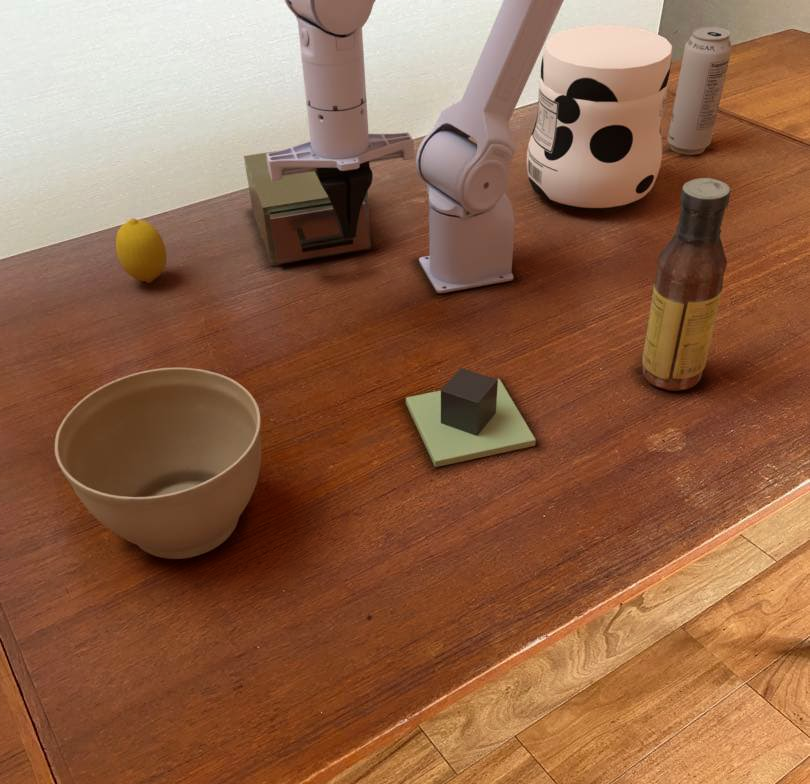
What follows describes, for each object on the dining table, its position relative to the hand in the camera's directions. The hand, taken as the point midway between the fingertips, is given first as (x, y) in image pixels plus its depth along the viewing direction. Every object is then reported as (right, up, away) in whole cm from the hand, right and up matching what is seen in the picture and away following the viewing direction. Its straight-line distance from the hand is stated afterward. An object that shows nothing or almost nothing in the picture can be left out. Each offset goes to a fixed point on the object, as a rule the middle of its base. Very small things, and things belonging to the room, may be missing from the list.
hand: (347, 234), depth 92 cm
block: (+12, -21, -8) cm, 25 cm away
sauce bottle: (+33, -16, -3) cm, 37 cm away
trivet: (+12, -21, -7) cm, 26 cm away
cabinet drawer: (-5, +5, +17) cm, 18 cm away
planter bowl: (-13, -31, -15) cm, 37 cm away
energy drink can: (+47, +24, +33) cm, 62 cm away
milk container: (+31, +14, +25) cm, 42 cm away
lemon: (-25, -2, +13) cm, 28 cm away
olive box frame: (-6, +7, +20) cm, 22 cm away
